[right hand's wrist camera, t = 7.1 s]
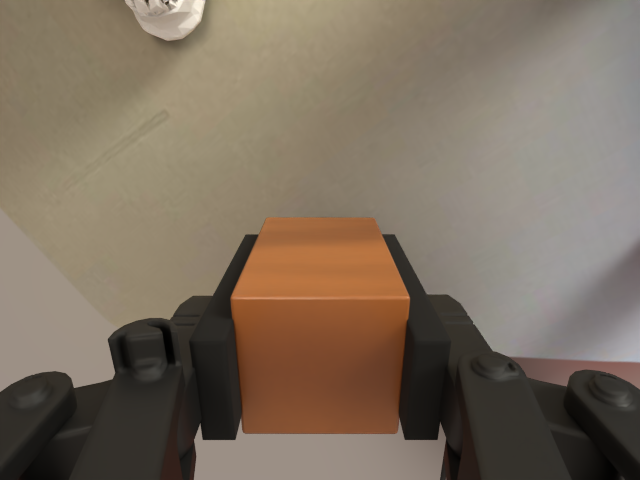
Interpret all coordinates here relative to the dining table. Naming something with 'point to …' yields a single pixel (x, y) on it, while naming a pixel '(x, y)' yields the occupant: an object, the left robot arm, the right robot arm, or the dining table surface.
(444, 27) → the dining table surface
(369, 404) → the block
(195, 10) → the skull
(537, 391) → the right robot arm
